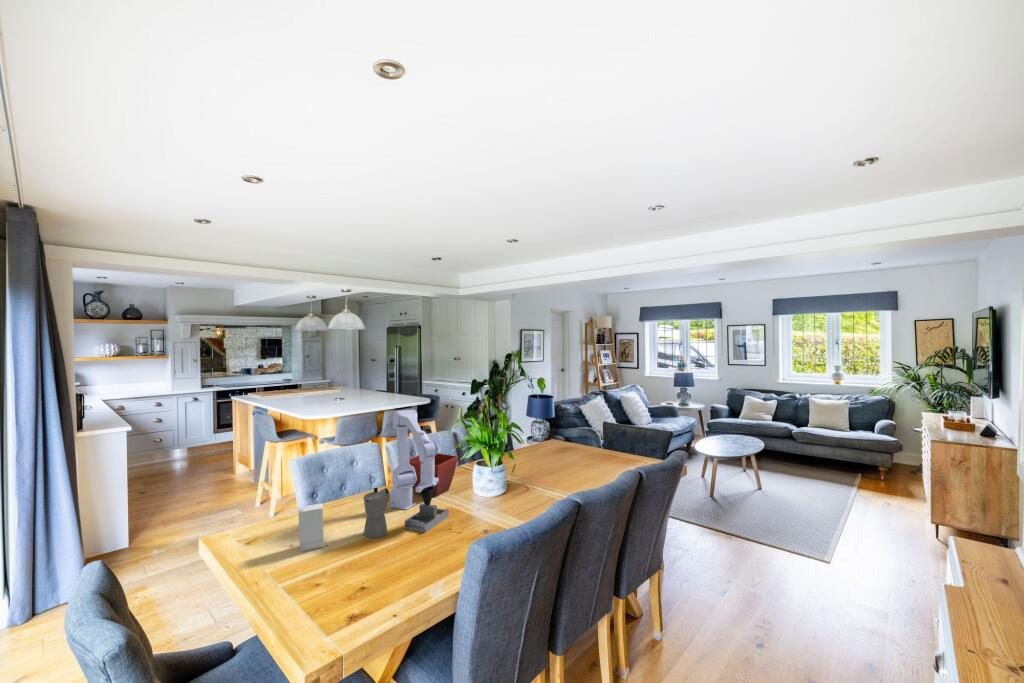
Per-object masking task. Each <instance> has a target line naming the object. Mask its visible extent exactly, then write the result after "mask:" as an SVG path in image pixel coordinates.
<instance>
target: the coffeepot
mask: <svg viewBox="0 0 1024 683" xmlns="http://www.w3.org/2000/svg"><path fill="white" fill-rule="evenodd" d="M378 489H379V488H378V487H374V488H373V491H372V492H369V493H365V494H364V496H363V504H364V510H365V515H366V518H365V525H364V530H363V536H365V537H366V538H369V539H376V538H377V539H378V538H380V537H384V536H385V535H387V533H388V526H387V520H386V519H387V518H386V515H385V512H386V509H387V506H388V500H389V494H390V490H389V489H388V488H387V487H385V488H383V489H381V490H379V491H378Z"/></svg>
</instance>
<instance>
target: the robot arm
mask: <svg viewBox="0 0 1024 683" xmlns="http://www.w3.org/2000/svg"><path fill="white" fill-rule="evenodd" d="M392 428H393V429H394V430H395V431H396V445H397V447H396V448H397V459H398V464H397V466H396V467H395V468H394V469H393V470H392V477H391V478H392V479H391V481H392V487H391V490H390V505H389V507H390V508H395V509H400V510H406V511H407V510H409V509H410V508H413V507H414V506H417V502H413V486H414V484H415V483H416V480H417V477H416V473H415V468H414V467H412V466H411V465H410V464H409V459H410V451H409V436H408V430H409V431H411V433H412V435H413V437H412V440H413V441H414V443H415V445H416V447H417V452H418V456H419V460H420V462H421V482H420V483H419V485H418V486H417V487H416V492H419V493H420V492H421V494H420V495H421V496H422V500H423V503H424V504H425V505H431V502H432V498H433V497H432V495H433V493H434V491H435V489H436V487H435V485H437V483H438V482H439V478H436V477H434V463H435V456H436V455H437V453H438V447H437V444H436V442H435V441H432V440H430V439H429V436H428V434H427V432H426V431H424V430H422V429H421V427H420V425H419V423H418V412H417V411H416V410H415V409H414V408H413V409H407V410H406V409H405V410H395V411H394V412H393V414H392Z"/></svg>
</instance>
